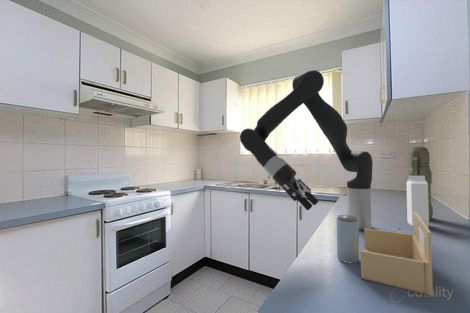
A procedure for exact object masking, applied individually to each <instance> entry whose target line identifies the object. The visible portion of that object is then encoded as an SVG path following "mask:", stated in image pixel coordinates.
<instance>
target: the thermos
mask: <svg viewBox="0 0 470 313" xmlns="http://www.w3.org/2000/svg"><path fill="white" fill-rule="evenodd" d="M407 173H408V177H409V176H425V180H426V182H427V183H428V205H429V221H433V214H434V213H433V212H434V210H433V209H434V208H433V205H432V192H431V190H432V187H431V185H432V183H433V181H432V180H433V179H432V178H433V176H432V174H433V173H432V170H431V167H430V152H429V149H428V147H423V146H422V147H421V146H420V147H412V148H411V149H410V152H409V170H408V172H407Z"/></svg>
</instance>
